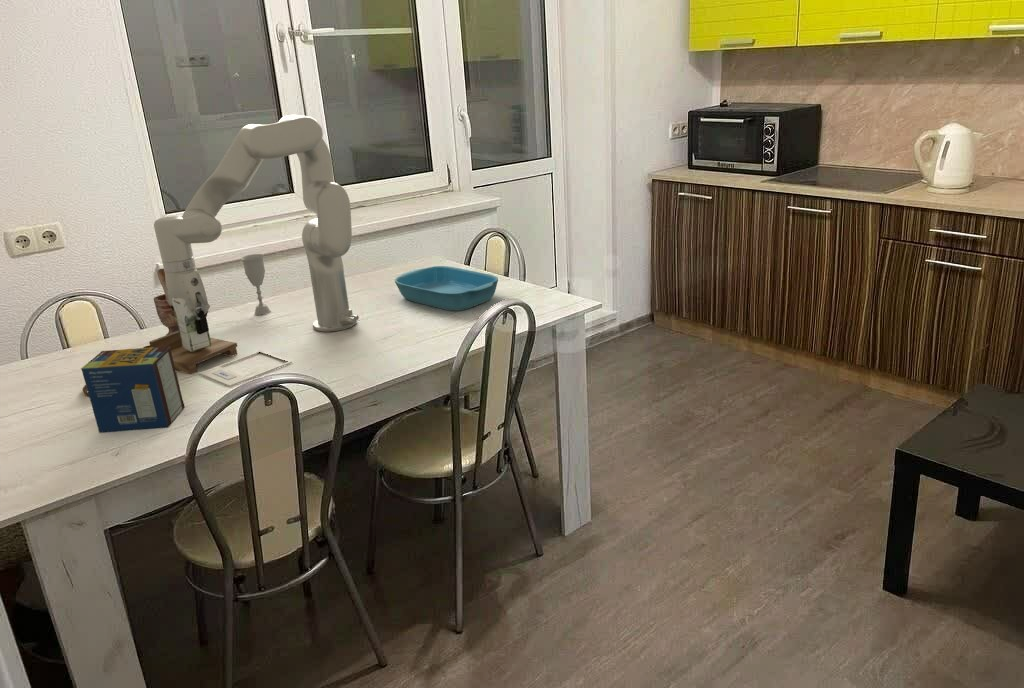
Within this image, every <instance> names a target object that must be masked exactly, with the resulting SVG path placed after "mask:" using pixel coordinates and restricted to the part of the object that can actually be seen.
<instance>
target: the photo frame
mask: <svg viewBox="0 0 1024 688" xmlns="http://www.w3.org/2000/svg"><path fill="white" fill-rule="evenodd" d="M259 352H260V353H262V354H266V355H267V354H268V356H270V355H271V357H273V358H277V359H280V360H282V361H284V360H285V362H284V363H282V364H279V365H276V366H274V367H271V368H269V369H266V370H264V371H261V372H258V373H255V374H253V375H251V376H245V375H242V374H239V373H237V372H235V371H232V370H230V369H227V368H225V367H226V366H229V365H232V364H235V363H238V362H241V361H243V359H244V360H246V359H249V358H251V357H250V356H252V357H254V356H253V355H255V356H257V355H258V354H260V353H259ZM256 354H257V355H256ZM248 357H249V358H248ZM240 360H241V361H240ZM237 361H238V362H237ZM287 361H288V362H287ZM290 363H292V364H293V361H291V360H289V359H287V358H283V357H280V356H278V355H275V354H272V353H269V352H267V351H264V350H258V351H256V352H252V353H250V354H246V355H244V356H242V357H239V358H236V359H233V360H231V361H227V362H225V363H222V364H220V365H217V366H214V367H211V368H209V369H205V370H203V371H200V372H199V373H198V374H199V375H200V376H202V377H205V378H207V379H209V380H211V381H213V382H216V383H218V384H221V385H224V386H225V387H229V388H231V387H232V388H233V387H234V386H237V385H239V384H238V383H240V384H242V383H241V382H243V383H245V382H247V381H250V380H252V378H253V379H255V378H257V377H256V376H258V377H261V376H263V375H265V374H268V373H271V372H274V371H276V370H278V369H277V368H279V367H281V368H283V367H282V366H284V365H287V364H289V365H291V364H290ZM287 366H288V365H287ZM284 367H285V366H284ZM275 369H276V370H275ZM279 369H280V368H279ZM273 370H274V371H273ZM244 381H245V382H244Z"/></svg>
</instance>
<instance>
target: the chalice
mask: <svg viewBox="0 0 1024 688" xmlns="http://www.w3.org/2000/svg"><path fill="white" fill-rule="evenodd" d="M264 257H265V254H261V253H255V254H254V253H253V254H248V255H245V256H244V255H243V256H242V257H241V258H240V260H241V261H242V263H243V268H244V274H245V276H246V277H247V279H248V281H249V282H250V283H251V285H252V286H253V287H255V288H256V294H257V297H256V299H257V300H258V305H256V306H255V310H254V313H255V314H256V316H262V315H261V314H265V315H267V314H266V313H268V314H270V313H271V312H270V311H271V309H270V307H269V306H268V305H267V304H264V303H263V296H262V290H261V289H260V288H261V287H260V286H262V285H263V283H264V280H265V273H266V269H265V263H264ZM269 312H270V313H269ZM255 314H254V315H255Z"/></svg>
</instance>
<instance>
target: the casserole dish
mask: <svg viewBox="0 0 1024 688" xmlns="http://www.w3.org/2000/svg"><path fill="white" fill-rule="evenodd" d="M498 281H499V278H498V276H495V275H493V274H489V273H484V272H480V271H476V270H475V271H474V270H468V269H464V268H459V267H453V266H446V265H436V266H428V267H424V268H418V269H413V270H409V271H407V272H404V273H402V274H400V276H397V277H395V279H394V283H395V284H396V287H397V289H398V291H399V292H400V295H401V296H403V298H405V299H406V300H408V301H410V302H414V303H417V302H418V303H417V304H422V305H425V306H429V307H432V306H433V308H437V309H441V310H445V309H446V311H451V310H452V311H453V312H455V311H457V312H460V311H464V309H465V310H468V309H470V308H474V307H476V306H479V305H481V303H482V304H484V303H487V302H488V301H490V300H491V299H492V298H493V297H494V295H495V293H496V289H497V285H498ZM478 304H479V305H478ZM473 306H474V307H473Z"/></svg>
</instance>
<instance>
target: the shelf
mask: <svg viewBox="0 0 1024 688" xmlns="http://www.w3.org/2000/svg"><path fill="white" fill-rule="evenodd" d="M167 334H168V333H167ZM210 340H211V344H212V346H209V347H206V348H203V349H200V350H196V351H193V352H191V351H189V350H187V349H185V348H183V346H182V342H181V338H180V333H179V331H176V332H174V333H171V334H168V335H166V334H165V335H163V336H160V337H158V338H156V339H155V338H154V339H153V340H150V341H148V342H149V345H150V347H161V346H170V349H171V353H172V357H173V362H174V366H175V370H176V372H181V373H185V374H190V375H191V374H194V373H197V372H198V368H197V364H199V363H201V362H204V361H206V360H209V359H211V358H213V357H216V356H218V355H223V356H228V357H233V355H234V356H236V355H238V351H237V347H238V343H237V342H233V341H228V340H225V339H224V340H223V339H219V338H215V337H210ZM235 354H236V355H235Z"/></svg>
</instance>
